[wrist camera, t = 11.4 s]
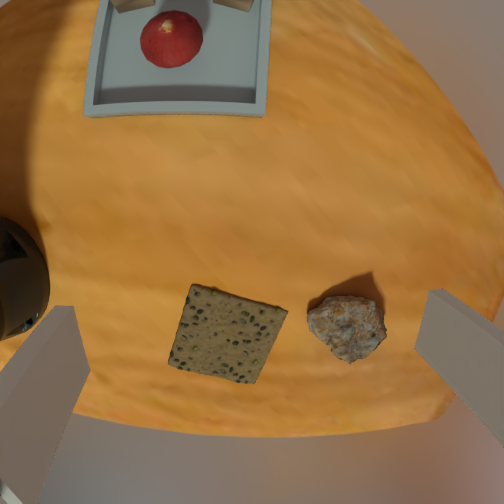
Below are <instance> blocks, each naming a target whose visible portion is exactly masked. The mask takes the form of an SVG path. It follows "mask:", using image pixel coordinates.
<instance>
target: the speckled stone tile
mask: <svg viewBox="0 0 504 504" xmlns="http://www.w3.org/2000/svg"><path fill="white" fill-rule="evenodd" d="M287 314H288V311H286V310H283V309H281V308H279V307H272V306H270V305H266V304H263V303H258V302H254V301H250V300H248V299H243V298H240V297H237V296H233V295H231V294H226V293H222V292H219V291H216V290H212V289H208V288H206V287H202V286H200V285H195V284H192V285H191V287H190V289H189V294H188V297H187V298H186V303H185V306H184V308H183V314H182V317H181V320H180V322H179V327H178V330H177V332H176V338H175V341H174V344H173V347H172V351H171V353H170V357H169V360H168V365H170V366H173V367H176V368H178V369H180V370H187V371H188V372H190V371H191V372H195V373H199V374H204V375H209V376H216V377H219V378H223V379H227V380H231V381H235V382H236V383H240V382H241V383H245V384H247V383H249V384H255V382H256V380H257V378H258V376H259V374H260V372H261V370H262V367H263V366H264V364H265V362H266V359H267V357H268V355H269V353H270V350H271V348H272V346H273V344H274V342H275V340H276V338H277V335H278V333H279V331H280V329H281V327H282V324H283V322H284V320H285V317H286V315H287Z"/></svg>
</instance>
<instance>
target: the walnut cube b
mask: <svg viewBox="0 0 504 504" xmlns="http://www.w3.org/2000/svg"><path fill="white" fill-rule="evenodd" d="M253 2H254V0H213V3H215V4H219V5H223V6H226V7H230V8H234V9H238V10H241V11H245V12H248V13H249V11H250V9H251V6H252V4H253Z"/></svg>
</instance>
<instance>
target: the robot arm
mask: <svg viewBox="0 0 504 504" xmlns="http://www.w3.org/2000/svg"><path fill="white" fill-rule="evenodd" d="M49 292H50V286H49V277H48V272H47V268H46V264H45V262H44V259H43V257H42V254H41V252H40V250H39V248H38V247H37V245H36V243H35V242H34V240H33V239H32V238H31V236H30V235H29V234H28V233H27V232H26V231H25V230H24V229H23V228H22V227H21V226H19V225H18V224H17V223H15V222H13V221H11V220H9V219H6V218H2V217H0V341H3V340H5V339H8V338H11V337H13V336H16V335H19V334H21V333H24V332H26V331H28V330H29V329H30V328H32V327H33V326H34V325H35V324H36V322H37V321H38V320H39V319H40V318H41V317H42V315H43V314H44V312H45V310H46V308H47V305H48V301H49ZM414 349H415V350H416V351H417V352H418V353H419V354H420V355H421V356H422V358H423V359H424V360H425V361H426V362H427V363H428V364H429V365H430V366H431V367H432V368H433V369H434V370H435V371H436V372H437V373H438V374H439V376H440V377H441V378H442V379H443V380H444V381H445V382H446V383H447V384H448V385H449V386H450V387H451V388H452V390H453V391H454V392H455V393H456V394H457V395H458V396H459V397H460V398H461V399H462V401H463V402H464V403H465V404H466V405H467V406H468V407H469V408H470V409H471V411H472V412H473V413H474V414H475V415H476V416H477V417H478V418H479V420H480V421H481V422H482V423H483V424H484V425H485V426H486V427H487V429H488V430H489V431H490V432H491V433H492V434H493V436H494V437H495V438H496V439H497V440H498V441H499V443H500V444H501V445H502V446H503V447H504V331H503V330H502V329H500V328H499V327H497V326H496V325H495V324H493V323H492V322H491V321H489V320H488V319H486V318H485V317H484V316H482V315H481V314H479V313H478V312H476V311H475V310H474V309H472V308H471V307H469V306H468V305H466V304H465V303H463V302H462V301H460V300H459V299H457V298H456V297H455V296H453V295H452V294H450V293H449V292H447V291H446V290H444V289H443V288H442V289H433V290H429V292H428V296H427V301H426V305H425V310H424V314H423V318H422V322H421V326H420V330H419V334H418V337H417V341H416V345H415V348H414ZM89 373H90V368H89V364H88V361H87V357H86V354H85V350H84V347H83V343H82V339H81V335H80V331H79V327H78V323H77V319H76V315H75V310H74V306H55V307H54V308H53V309H52V310H51V311H50V312H49V313H48V314H47V316H46V317H45V318H44V319H43V320H42V321H41V323H40V324H39V325H38V326H37V327H36V328H35V330H34V331H33V332H32V333H31V334H30V336H29V337H28V338H27V339H26V340H25V342H24V343H23V344H22V345H21V347H20V348H19V349H18V350H17V351H16V353H15V354H14V355H13V357H12V358H11V359H10V360H9V362H8V363H7V364H6V365H5V367H4V368H3V369H2V371H1V372H0V496H1V497H2V498H3V499H4V500H5V501H6V502H7V503H8V504H38V502H39V499H40V495H41V492H42V489H43V486H44V483H45V481H46V478H47V475H48V472H49V469H50V467H51V464H52V461H53V458H54V456H55V453H56V450H57V448H58V445H59V443H60V440H61V438H62V435H63V433H64V430H65V427H66V425H67V423H68V420H69V418H70V416H71V413H72V411H73V408H74V406H75V404H76V401H77V399H78V397H79V395H80V392H81V390H82V388H83V386H84V383H85V381H86V379H87V377H88V375H89Z"/></svg>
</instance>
